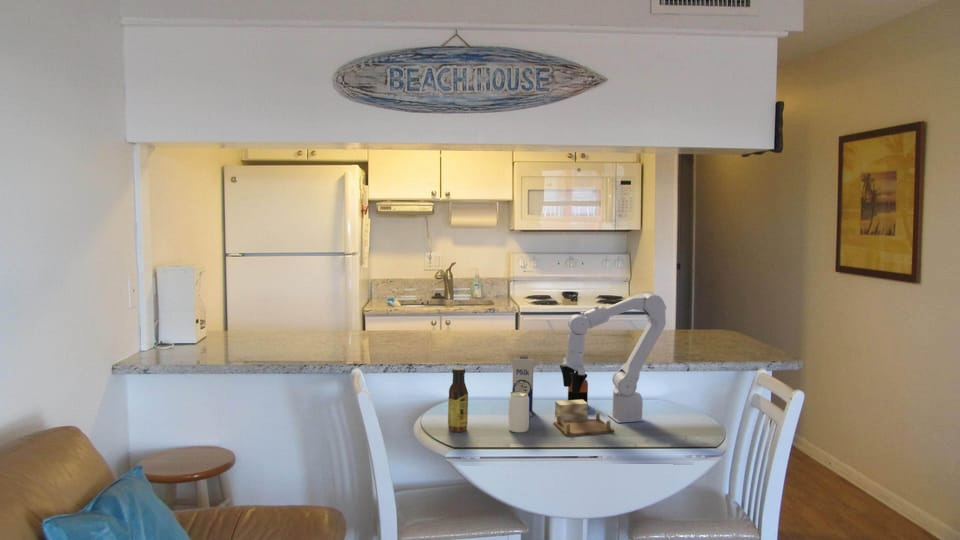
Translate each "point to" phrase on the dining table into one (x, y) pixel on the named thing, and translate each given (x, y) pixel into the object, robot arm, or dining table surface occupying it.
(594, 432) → the chassis
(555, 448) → the dining table surface
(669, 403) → the dining table surface
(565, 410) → the block
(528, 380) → the milk carton
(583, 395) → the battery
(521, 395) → the can
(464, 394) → the sauce bottle
